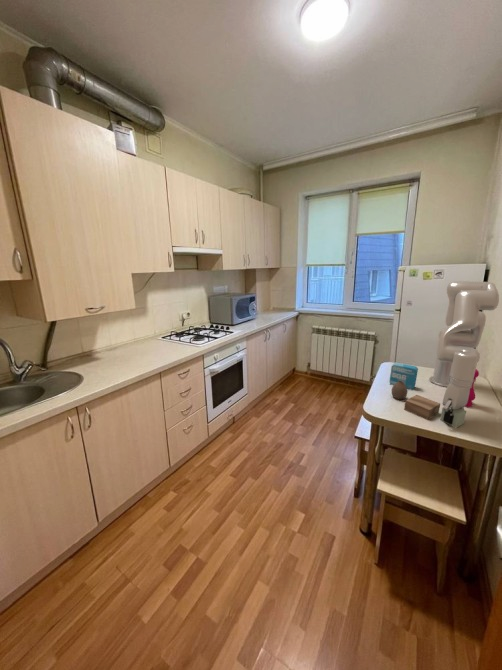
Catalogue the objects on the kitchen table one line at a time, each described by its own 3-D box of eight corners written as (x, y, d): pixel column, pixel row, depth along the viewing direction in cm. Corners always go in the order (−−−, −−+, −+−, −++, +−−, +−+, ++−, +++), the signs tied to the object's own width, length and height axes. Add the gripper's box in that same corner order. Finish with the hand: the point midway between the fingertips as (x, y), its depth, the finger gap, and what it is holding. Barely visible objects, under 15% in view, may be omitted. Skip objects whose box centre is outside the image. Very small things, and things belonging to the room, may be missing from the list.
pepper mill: (469, 401, 128) (478, 362, 123) (476, 408, 122) (485, 368, 116) (451, 398, 130) (459, 361, 125) (457, 405, 124) (466, 366, 119)
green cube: (448, 416, 115) (450, 404, 114) (463, 423, 110) (466, 411, 108) (440, 420, 113) (442, 407, 111) (455, 427, 107) (458, 414, 106)
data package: (389, 384, 147) (391, 364, 144) (390, 381, 150) (393, 361, 147) (413, 390, 140) (417, 369, 137) (414, 387, 143) (418, 366, 140)
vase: (408, 401, 128) (411, 385, 126) (393, 400, 129) (395, 384, 127) (403, 395, 135) (406, 379, 132) (389, 393, 136) (391, 378, 134)
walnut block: (415, 404, 126) (416, 394, 125) (438, 413, 118) (440, 403, 117) (404, 410, 121) (405, 400, 120) (427, 420, 113) (429, 410, 112)
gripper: (461, 374, 113) (453, 411, 118) (438, 382, 106) (430, 421, 111) (482, 380, 107) (473, 419, 112) (459, 389, 100) (450, 430, 104)
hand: (452, 420), depth 111 cm, fingers closed on green cube, 6 cm apart
